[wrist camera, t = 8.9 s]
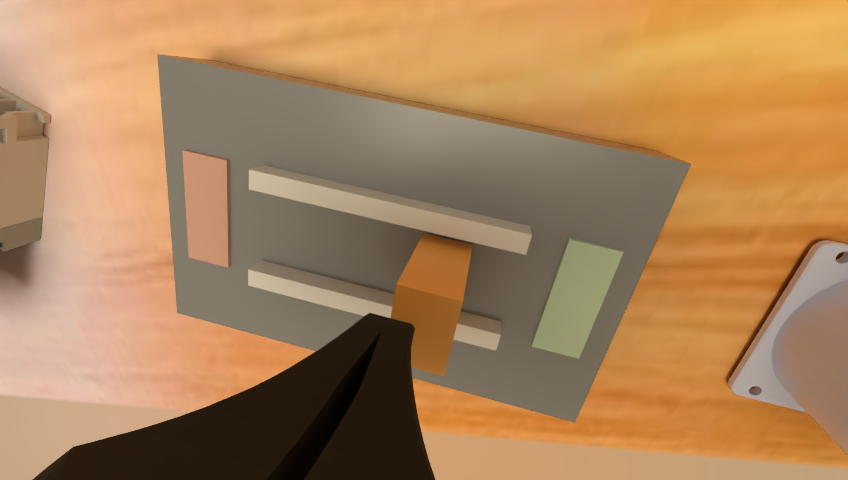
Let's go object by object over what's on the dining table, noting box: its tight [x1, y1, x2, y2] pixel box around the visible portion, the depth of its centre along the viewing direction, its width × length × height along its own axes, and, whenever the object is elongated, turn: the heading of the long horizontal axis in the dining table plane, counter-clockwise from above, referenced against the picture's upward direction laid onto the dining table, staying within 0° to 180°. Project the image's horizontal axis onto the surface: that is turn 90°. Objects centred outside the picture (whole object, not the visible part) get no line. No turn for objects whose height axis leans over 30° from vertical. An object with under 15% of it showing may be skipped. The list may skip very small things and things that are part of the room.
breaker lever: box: [391, 233, 473, 376], centre depth 14 cm, size 2×3×4 cm
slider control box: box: [158, 55, 691, 422], centre depth 17 cm, size 20×12×4 cm, turn 80°
